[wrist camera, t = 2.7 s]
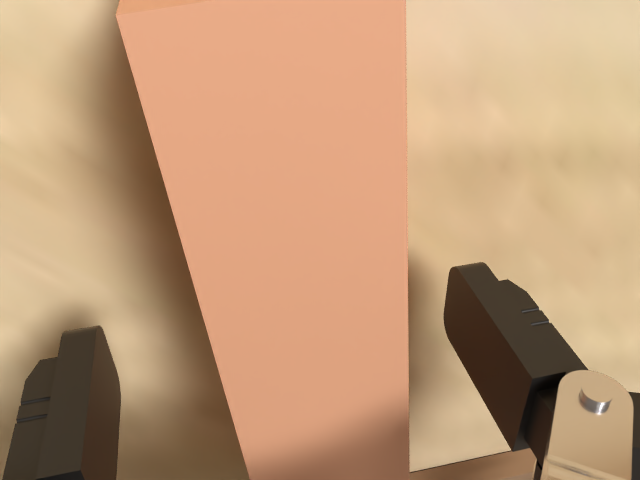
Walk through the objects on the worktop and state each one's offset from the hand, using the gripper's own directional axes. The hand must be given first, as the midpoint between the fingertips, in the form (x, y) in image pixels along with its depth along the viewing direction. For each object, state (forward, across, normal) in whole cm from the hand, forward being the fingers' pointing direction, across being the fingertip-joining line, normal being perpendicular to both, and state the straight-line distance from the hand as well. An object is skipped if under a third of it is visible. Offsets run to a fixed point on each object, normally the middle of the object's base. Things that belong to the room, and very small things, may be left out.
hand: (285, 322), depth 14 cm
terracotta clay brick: (+2, 0, 0) cm, 2 cm away
